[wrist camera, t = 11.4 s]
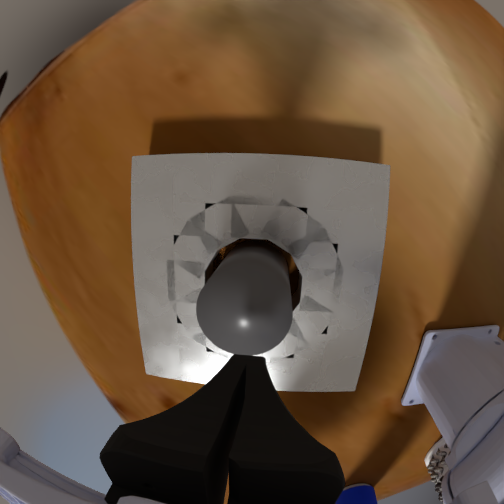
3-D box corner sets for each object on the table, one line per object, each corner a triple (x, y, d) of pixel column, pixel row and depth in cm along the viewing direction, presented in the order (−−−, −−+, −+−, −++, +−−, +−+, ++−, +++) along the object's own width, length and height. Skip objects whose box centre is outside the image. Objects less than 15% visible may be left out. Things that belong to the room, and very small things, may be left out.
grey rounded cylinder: (292, 243, 20) (299, 273, 13) (283, 306, 21) (285, 360, 14) (224, 236, 20) (197, 262, 13) (220, 299, 21) (195, 348, 14)
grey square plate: (377, 167, 18) (390, 165, 16) (348, 372, 21) (354, 391, 19) (148, 159, 19) (132, 156, 17) (157, 357, 23) (146, 373, 20)
